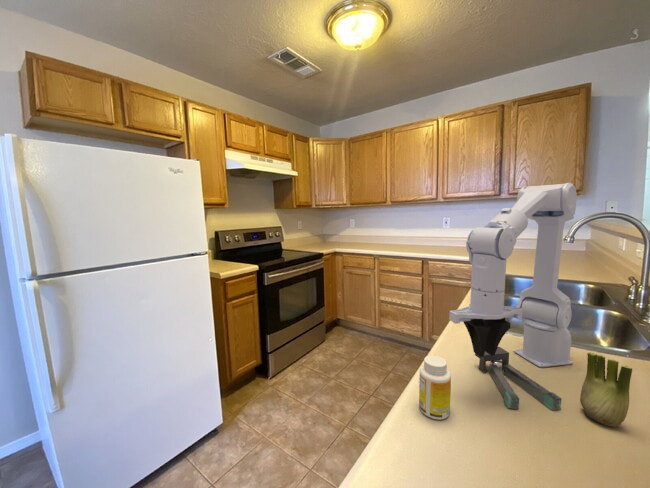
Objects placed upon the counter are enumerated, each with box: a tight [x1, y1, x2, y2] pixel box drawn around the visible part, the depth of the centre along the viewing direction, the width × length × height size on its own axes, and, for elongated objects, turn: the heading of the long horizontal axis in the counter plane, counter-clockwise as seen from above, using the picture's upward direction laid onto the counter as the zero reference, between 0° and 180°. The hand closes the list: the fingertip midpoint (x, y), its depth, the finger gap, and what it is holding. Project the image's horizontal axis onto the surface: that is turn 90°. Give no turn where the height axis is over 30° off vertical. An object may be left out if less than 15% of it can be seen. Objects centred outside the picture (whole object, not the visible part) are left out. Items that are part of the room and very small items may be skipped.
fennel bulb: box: [579, 351, 633, 427], centre depth 50 cm, size 6×5×12 cm
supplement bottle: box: [418, 355, 452, 420], centre depth 53 cm, size 6×6×10 cm
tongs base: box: [489, 360, 562, 412], centre depth 60 cm, size 4×15×2 cm, turn 8°
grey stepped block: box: [474, 346, 510, 373], centre depth 67 cm, size 7×3×4 cm, turn 98°
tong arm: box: [488, 363, 520, 410], centre depth 59 cm, size 2×12×2 cm, turn 166°
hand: (484, 353), depth 56 cm, fingers closed
